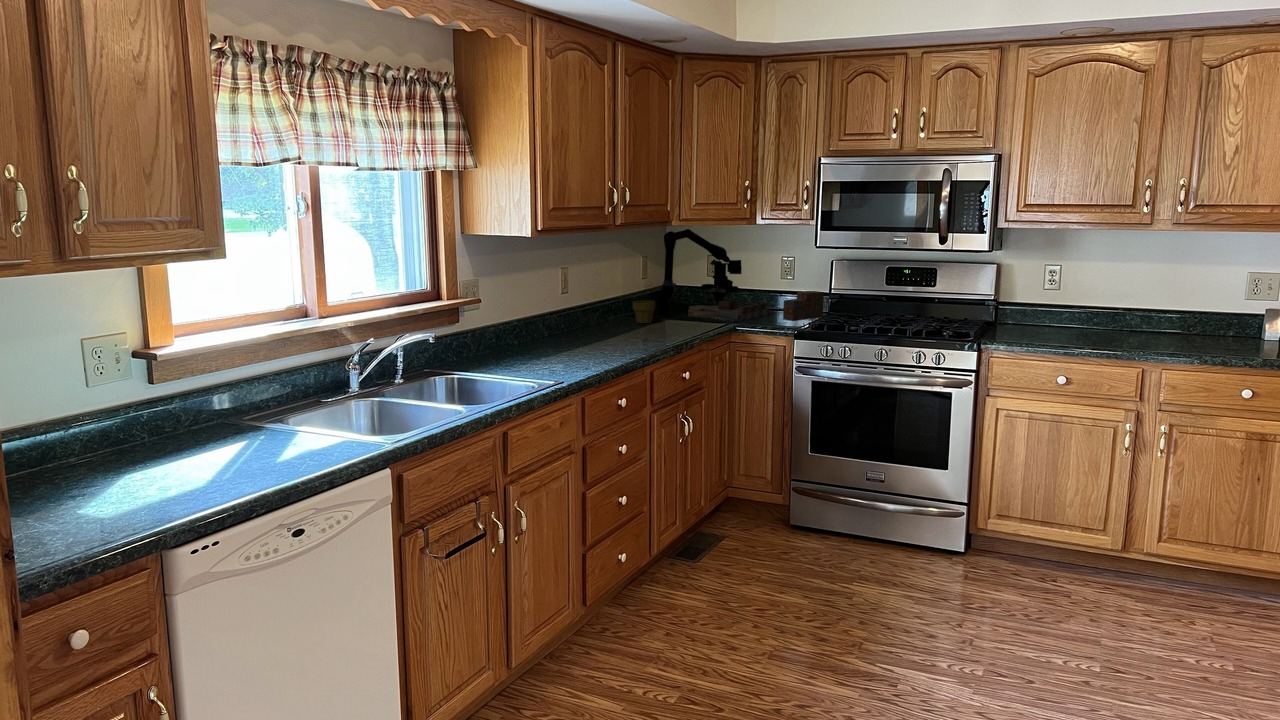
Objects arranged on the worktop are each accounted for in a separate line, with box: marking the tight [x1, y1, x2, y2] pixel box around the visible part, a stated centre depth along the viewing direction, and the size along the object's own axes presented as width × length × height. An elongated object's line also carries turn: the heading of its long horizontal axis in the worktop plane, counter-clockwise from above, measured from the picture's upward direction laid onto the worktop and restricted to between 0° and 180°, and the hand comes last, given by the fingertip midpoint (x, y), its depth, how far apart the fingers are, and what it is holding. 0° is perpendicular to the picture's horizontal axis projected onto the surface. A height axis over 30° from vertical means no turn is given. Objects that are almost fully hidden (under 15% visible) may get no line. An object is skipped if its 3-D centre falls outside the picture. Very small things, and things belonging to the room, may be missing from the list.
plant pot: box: [632, 300, 656, 324], centre depth 415 cm, size 10×10×10 cm
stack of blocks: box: [782, 290, 825, 322], centre depth 429 cm, size 21×6×12 cm, turn 129°
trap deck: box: [687, 302, 770, 322], centre depth 441 cm, size 28×35×6 cm
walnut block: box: [719, 299, 737, 310], centre depth 438 cm, size 6×6×4 cm
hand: (719, 306), depth 442 cm, fingers closed
